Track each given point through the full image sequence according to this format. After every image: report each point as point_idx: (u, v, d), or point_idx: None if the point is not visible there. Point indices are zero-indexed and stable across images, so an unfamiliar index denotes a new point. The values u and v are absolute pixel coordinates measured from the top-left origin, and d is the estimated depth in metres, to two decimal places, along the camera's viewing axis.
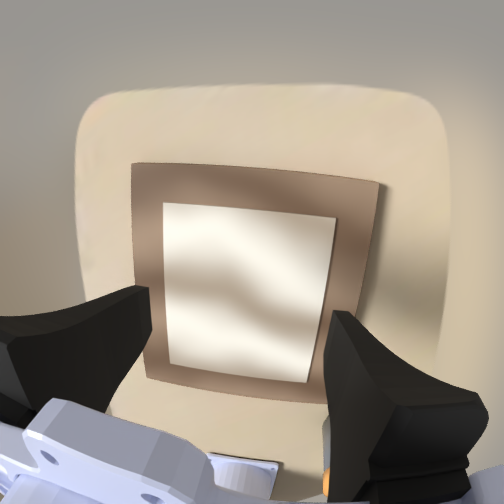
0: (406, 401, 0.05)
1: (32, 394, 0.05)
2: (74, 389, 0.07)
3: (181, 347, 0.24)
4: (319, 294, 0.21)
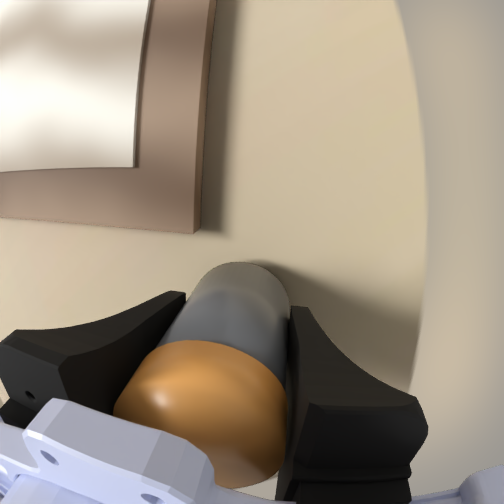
0: (324, 400, 0.05)
1: None
2: None
3: None
4: None
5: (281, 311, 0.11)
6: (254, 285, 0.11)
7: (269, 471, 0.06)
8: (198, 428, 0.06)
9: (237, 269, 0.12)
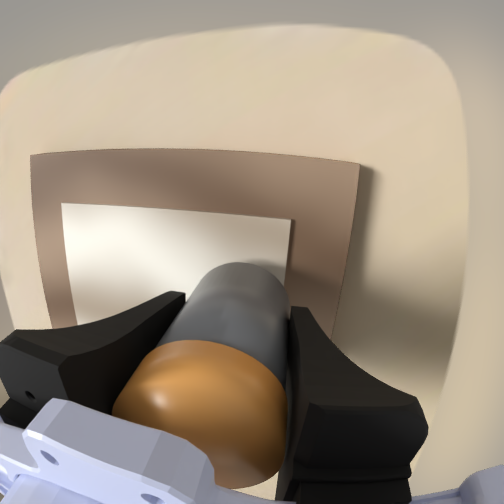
0: (324, 399, 0.05)
1: None
2: None
3: None
4: None
5: (281, 311, 0.11)
6: (254, 285, 0.11)
7: (269, 472, 0.06)
8: (198, 429, 0.06)
9: (237, 269, 0.12)
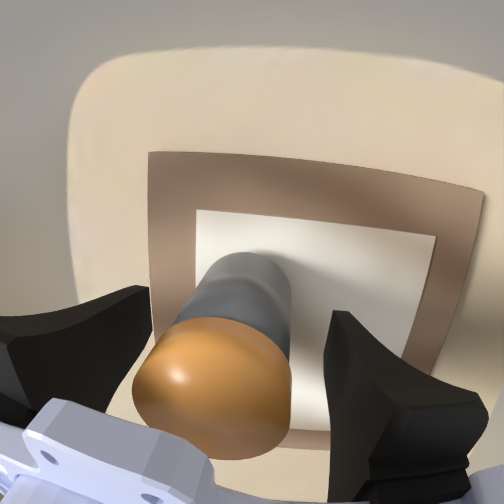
0: (406, 401, 0.05)
1: (32, 394, 0.05)
2: (74, 389, 0.07)
3: None
4: (404, 333, 0.15)
5: (284, 296, 0.12)
6: (260, 272, 0.12)
7: (275, 440, 0.07)
8: (212, 397, 0.07)
9: (243, 258, 0.13)
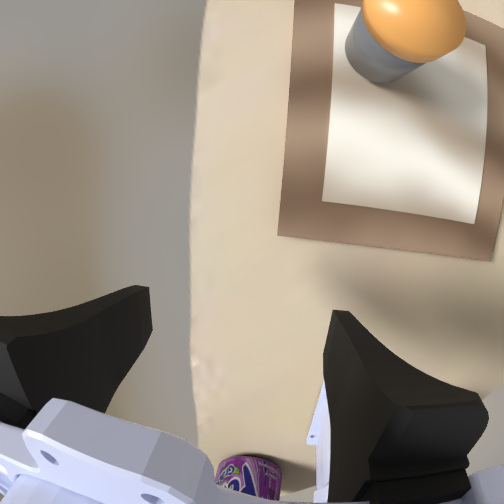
0: (406, 401, 0.05)
1: (32, 394, 0.05)
2: (74, 389, 0.07)
3: (343, 172, 0.18)
4: (483, 111, 0.15)
5: None
6: None
7: (461, 33, 0.08)
8: None
9: None
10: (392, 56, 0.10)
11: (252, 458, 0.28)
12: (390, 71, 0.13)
